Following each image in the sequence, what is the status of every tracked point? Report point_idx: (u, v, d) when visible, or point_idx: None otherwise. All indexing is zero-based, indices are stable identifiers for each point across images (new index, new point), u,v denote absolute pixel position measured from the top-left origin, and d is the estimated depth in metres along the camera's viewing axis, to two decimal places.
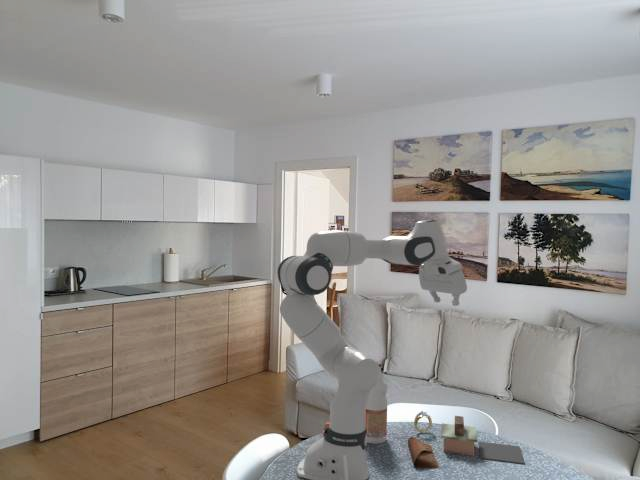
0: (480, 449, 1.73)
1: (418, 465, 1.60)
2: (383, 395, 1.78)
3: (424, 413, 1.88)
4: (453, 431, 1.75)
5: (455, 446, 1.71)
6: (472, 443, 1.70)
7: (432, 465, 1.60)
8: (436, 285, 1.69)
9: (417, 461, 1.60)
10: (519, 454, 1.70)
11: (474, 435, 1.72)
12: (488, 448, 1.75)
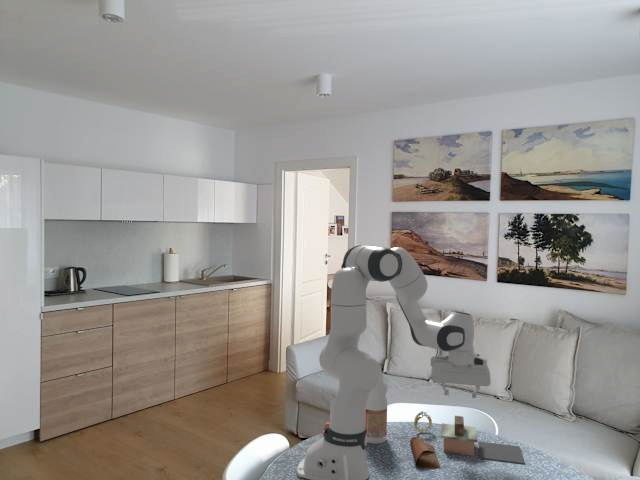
0: (480, 449, 1.73)
1: (420, 465, 1.59)
2: (383, 395, 1.78)
3: (424, 413, 1.88)
4: (453, 431, 1.75)
5: (455, 446, 1.71)
6: (472, 443, 1.70)
7: (434, 465, 1.60)
8: (458, 377, 1.74)
9: (419, 461, 1.59)
10: (519, 454, 1.70)
11: (474, 435, 1.72)
12: (488, 448, 1.75)
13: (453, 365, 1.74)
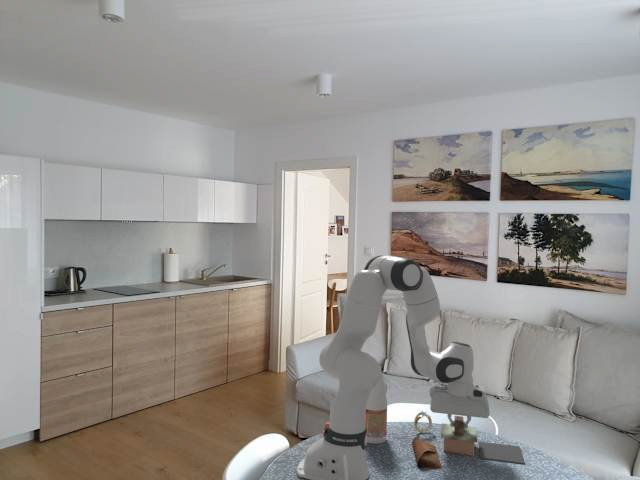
0: (480, 449, 1.73)
1: (422, 465, 1.59)
2: (383, 395, 1.78)
3: (424, 413, 1.88)
4: (453, 431, 1.75)
5: (455, 446, 1.71)
6: (472, 443, 1.70)
7: (436, 465, 1.59)
8: (457, 408, 1.74)
9: (421, 461, 1.59)
10: (519, 454, 1.70)
11: (474, 435, 1.72)
12: (488, 448, 1.75)
13: (452, 396, 1.74)
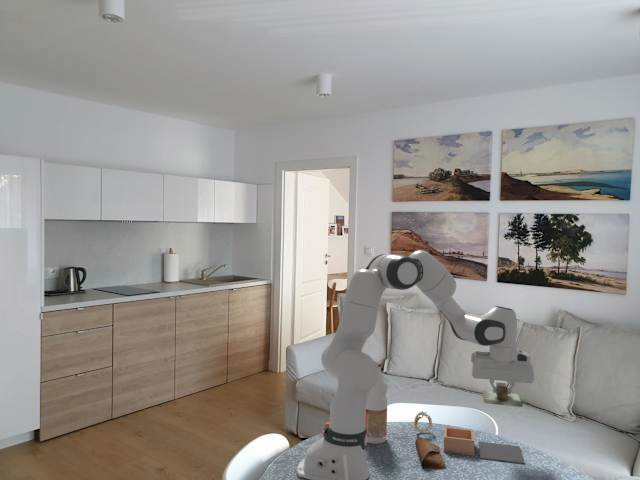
0: (480, 449, 1.73)
1: (426, 466, 1.59)
2: (383, 395, 1.78)
3: (424, 413, 1.88)
4: (496, 397, 1.72)
5: (455, 446, 1.71)
6: (472, 443, 1.70)
7: (440, 466, 1.59)
8: (500, 373, 1.71)
9: (425, 462, 1.59)
10: (519, 454, 1.70)
11: (518, 400, 1.69)
12: (488, 448, 1.75)
13: (495, 361, 1.71)
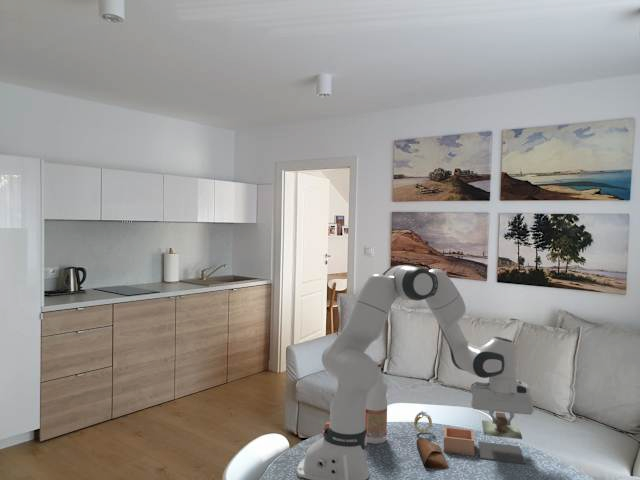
0: (480, 449, 1.73)
1: (429, 466, 1.59)
2: (383, 395, 1.78)
3: (424, 413, 1.88)
4: (495, 428, 1.72)
5: (455, 446, 1.71)
6: (472, 443, 1.70)
7: (443, 466, 1.59)
8: (499, 404, 1.71)
9: (428, 462, 1.59)
10: (519, 454, 1.70)
11: (517, 432, 1.69)
12: (488, 448, 1.75)
13: (494, 392, 1.71)
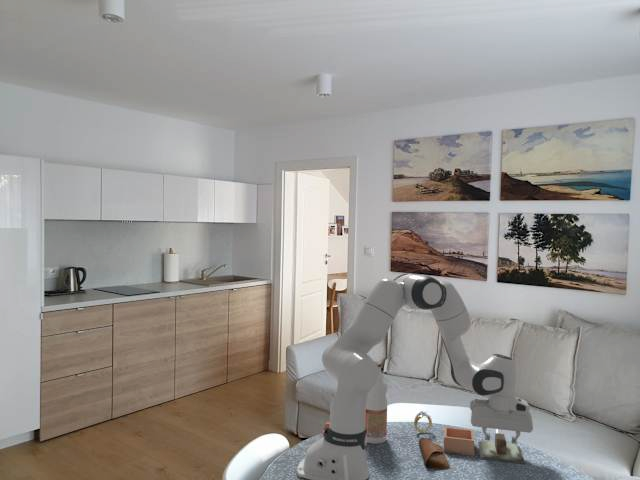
0: (480, 449, 1.73)
1: (430, 466, 1.59)
2: (383, 395, 1.78)
3: (424, 413, 1.88)
4: (494, 449, 1.72)
5: (455, 446, 1.71)
6: (472, 443, 1.70)
7: (444, 466, 1.59)
8: (499, 422, 1.71)
9: (429, 462, 1.59)
10: None
11: (517, 454, 1.69)
12: None
13: (494, 410, 1.71)
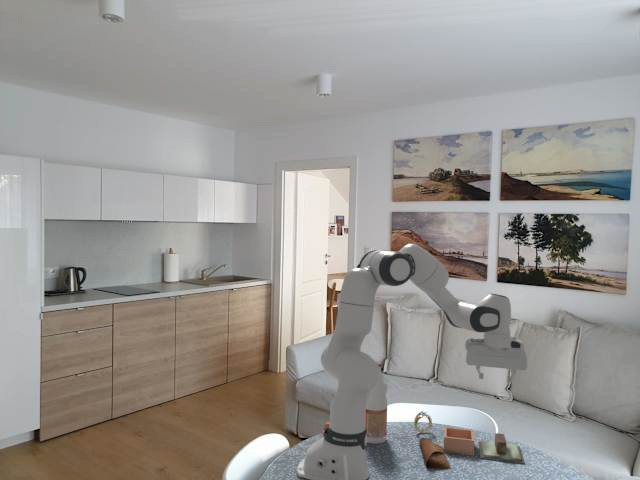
0: (480, 449, 1.73)
1: (430, 466, 1.59)
2: (383, 395, 1.78)
3: (424, 413, 1.88)
4: (494, 449, 1.72)
5: (455, 446, 1.71)
6: (472, 443, 1.70)
7: (444, 466, 1.59)
8: (494, 360, 1.72)
9: (429, 462, 1.59)
10: None
11: (517, 454, 1.69)
12: None
13: (489, 348, 1.72)
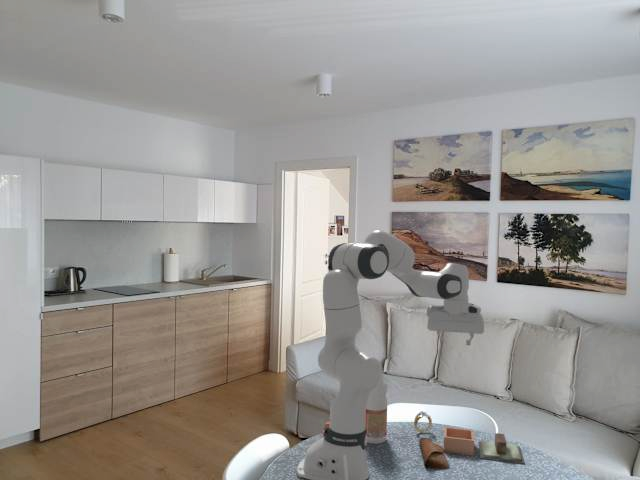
0: (480, 449, 1.73)
1: (429, 466, 1.59)
2: (383, 395, 1.78)
3: (424, 413, 1.88)
4: (494, 449, 1.72)
5: (455, 446, 1.71)
6: (472, 443, 1.70)
7: (443, 466, 1.59)
8: (453, 325, 1.81)
9: (428, 462, 1.59)
10: None
11: (517, 454, 1.69)
12: None
13: (448, 314, 1.82)
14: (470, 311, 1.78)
